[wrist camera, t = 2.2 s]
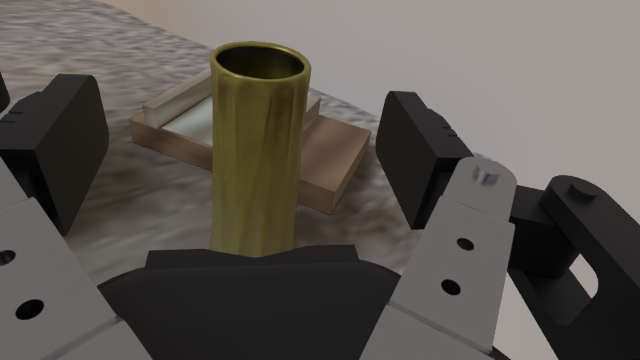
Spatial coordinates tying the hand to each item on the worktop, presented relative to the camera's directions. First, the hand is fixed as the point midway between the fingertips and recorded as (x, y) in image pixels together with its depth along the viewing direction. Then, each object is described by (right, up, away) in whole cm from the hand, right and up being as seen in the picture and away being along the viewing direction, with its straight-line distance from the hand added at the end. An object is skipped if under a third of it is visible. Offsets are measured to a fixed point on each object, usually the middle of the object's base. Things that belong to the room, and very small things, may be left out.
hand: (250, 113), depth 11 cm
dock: (-4, +1, +28) cm, 28 cm away
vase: (-3, -7, +18) cm, 19 cm away
